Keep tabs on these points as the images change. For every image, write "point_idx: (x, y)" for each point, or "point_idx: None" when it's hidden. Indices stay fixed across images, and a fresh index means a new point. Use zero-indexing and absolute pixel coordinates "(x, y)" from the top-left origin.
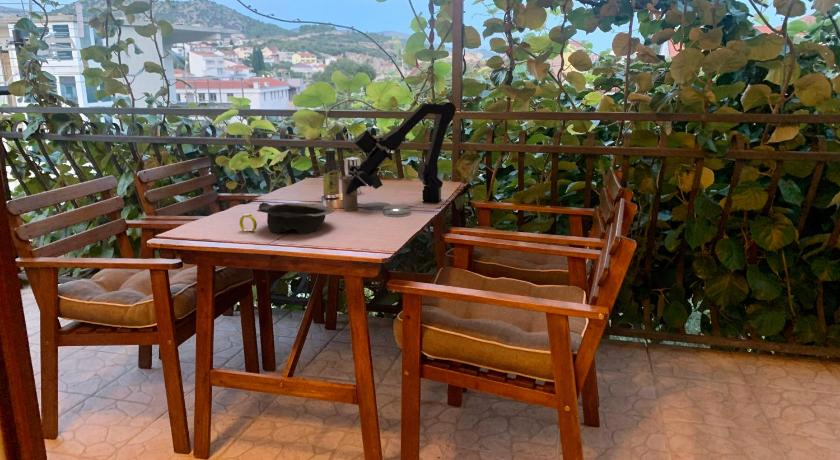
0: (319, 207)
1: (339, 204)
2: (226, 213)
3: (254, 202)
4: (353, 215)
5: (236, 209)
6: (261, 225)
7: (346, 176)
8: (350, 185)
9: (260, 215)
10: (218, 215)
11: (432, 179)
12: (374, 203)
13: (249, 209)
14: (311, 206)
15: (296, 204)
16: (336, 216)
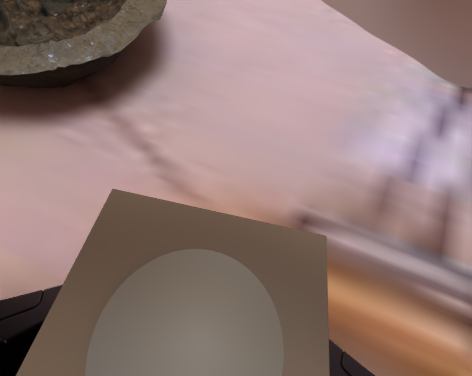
0: (31, 52)
1: (346, 321)
2: (336, 17)
3: (450, 85)
4: (32, 275)
5: (372, 38)
6: (170, 13)
7: (172, 258)
8: (53, 292)
9: (281, 44)
10: (323, 5)
11: None
12: None
13: (363, 52)
14: (87, 43)
15: (139, 10)
16: (95, 192)
